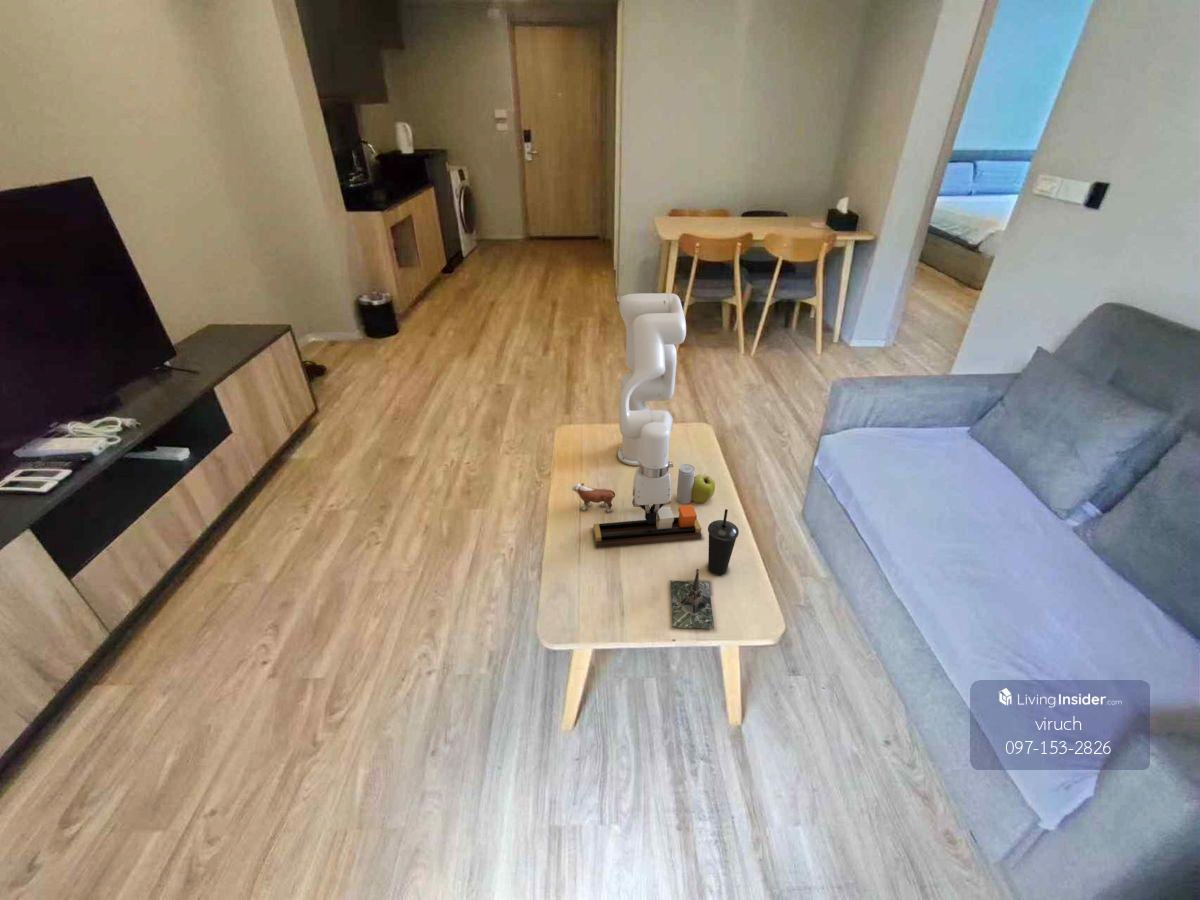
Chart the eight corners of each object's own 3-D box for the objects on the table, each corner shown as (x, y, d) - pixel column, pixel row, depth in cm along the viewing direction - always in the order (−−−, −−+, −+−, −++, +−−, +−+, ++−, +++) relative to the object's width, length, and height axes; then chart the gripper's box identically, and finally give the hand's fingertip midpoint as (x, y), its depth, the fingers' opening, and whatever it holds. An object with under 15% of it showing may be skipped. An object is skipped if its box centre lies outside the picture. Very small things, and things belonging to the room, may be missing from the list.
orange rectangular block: (677, 520, 156) (678, 505, 153) (690, 519, 157) (692, 504, 154) (681, 532, 152) (682, 516, 149) (695, 531, 152) (696, 515, 150)
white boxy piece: (655, 522, 156) (656, 507, 153) (668, 521, 156) (669, 506, 153) (658, 534, 151) (659, 518, 148) (672, 533, 152) (674, 517, 149)
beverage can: (687, 506, 165) (690, 474, 158) (673, 501, 167) (676, 469, 161) (694, 498, 168) (697, 467, 162) (680, 493, 170) (683, 462, 164)
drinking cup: (697, 563, 144) (704, 505, 133) (721, 555, 147) (730, 497, 136) (713, 582, 138) (722, 523, 127) (737, 574, 141) (748, 515, 130)
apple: (680, 492, 169) (691, 465, 165) (701, 493, 172) (713, 467, 168) (691, 507, 163) (703, 480, 159) (712, 508, 166) (725, 482, 162)
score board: (593, 529, 156) (593, 525, 155) (693, 520, 159) (694, 516, 158) (596, 548, 149) (596, 544, 149) (701, 538, 152) (701, 534, 152)
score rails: (593, 527, 154) (593, 523, 154) (695, 519, 157) (695, 515, 157) (596, 541, 149) (596, 537, 149) (700, 532, 152) (701, 528, 152)
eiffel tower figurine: (669, 581, 139) (672, 542, 132) (708, 582, 138) (714, 544, 131) (672, 628, 126) (676, 588, 119) (715, 630, 126) (722, 590, 118)
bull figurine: (573, 500, 168) (572, 479, 163) (615, 506, 165) (616, 484, 161) (570, 509, 164) (569, 488, 160) (613, 514, 162) (613, 493, 157)
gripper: (677, 457, 146) (673, 510, 155) (623, 461, 144) (622, 514, 154) (684, 473, 139) (679, 527, 149) (627, 477, 138) (626, 531, 148)
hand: (650, 520), depth 152 cm, fingers closed
